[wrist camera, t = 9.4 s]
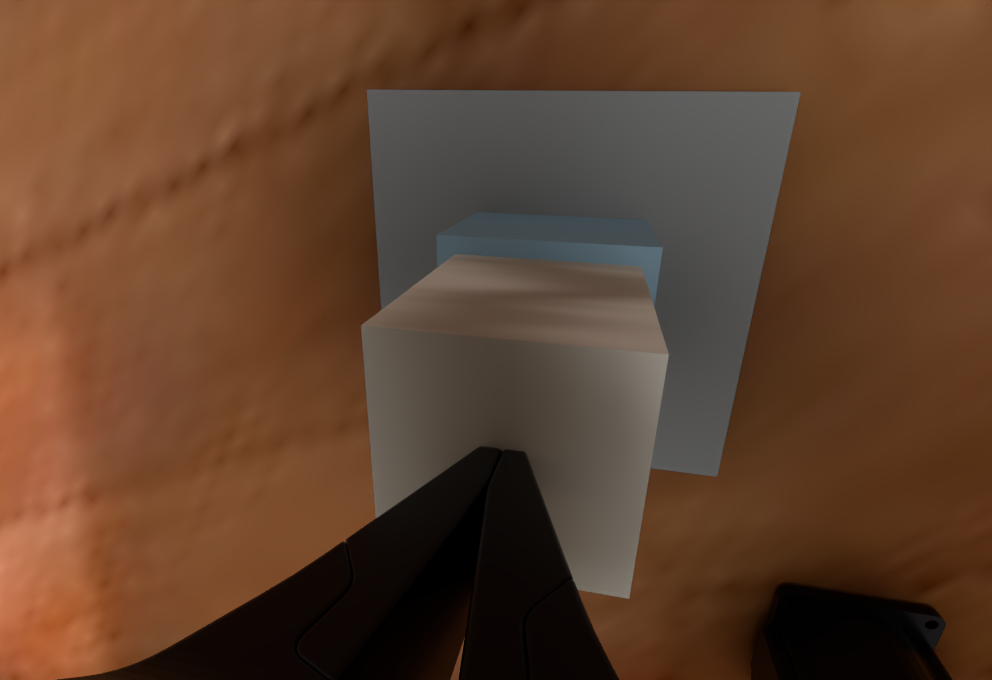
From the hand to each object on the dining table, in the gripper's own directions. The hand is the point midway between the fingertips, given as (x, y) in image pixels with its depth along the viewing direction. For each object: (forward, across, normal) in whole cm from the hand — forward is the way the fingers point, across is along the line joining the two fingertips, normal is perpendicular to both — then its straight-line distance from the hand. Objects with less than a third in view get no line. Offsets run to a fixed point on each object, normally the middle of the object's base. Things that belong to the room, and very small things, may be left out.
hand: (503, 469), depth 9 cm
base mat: (+12, 0, 0) cm, 12 cm away
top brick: (+6, 0, 0) cm, 6 cm away
